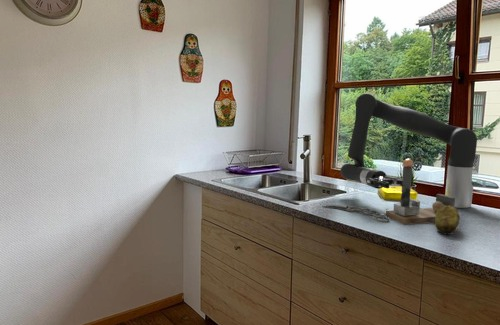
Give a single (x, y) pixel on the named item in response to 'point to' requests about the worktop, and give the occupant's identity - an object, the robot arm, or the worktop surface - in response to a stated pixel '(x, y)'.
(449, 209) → the potato
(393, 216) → the base
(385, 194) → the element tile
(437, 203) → the walnut
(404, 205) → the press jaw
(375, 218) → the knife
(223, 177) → the worktop surface
